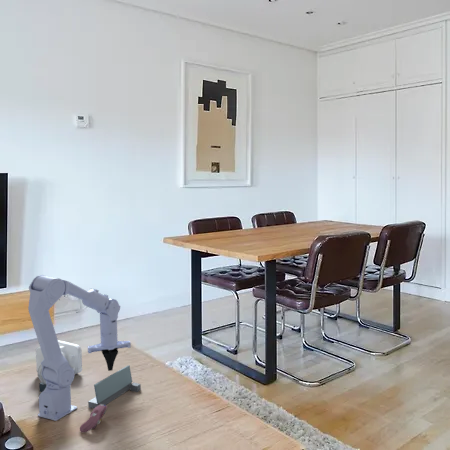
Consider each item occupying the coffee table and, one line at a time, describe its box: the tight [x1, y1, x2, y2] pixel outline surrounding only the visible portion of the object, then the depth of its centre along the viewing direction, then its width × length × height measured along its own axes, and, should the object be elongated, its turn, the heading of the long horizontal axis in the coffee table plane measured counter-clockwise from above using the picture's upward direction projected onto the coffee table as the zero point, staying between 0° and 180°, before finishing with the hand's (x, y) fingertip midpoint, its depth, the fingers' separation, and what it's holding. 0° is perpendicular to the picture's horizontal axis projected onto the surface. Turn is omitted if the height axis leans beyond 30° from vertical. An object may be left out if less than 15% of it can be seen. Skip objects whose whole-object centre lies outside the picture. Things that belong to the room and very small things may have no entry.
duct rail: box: [87, 382, 142, 410], centre depth 166 cm, size 18×8×2 cm, turn 155°
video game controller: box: [79, 404, 108, 433], centre depth 147 cm, size 10×5×7 cm, turn 174°
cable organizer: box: [35, 339, 83, 375], centre depth 185 cm, size 15×11×12 cm
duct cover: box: [93, 364, 133, 403], centre depth 165 cm, size 18×6×1 cm
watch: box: [37, 365, 46, 393], centre depth 171 cm, size 6×8×11 cm
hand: (110, 369), depth 172 cm, fingers closed
